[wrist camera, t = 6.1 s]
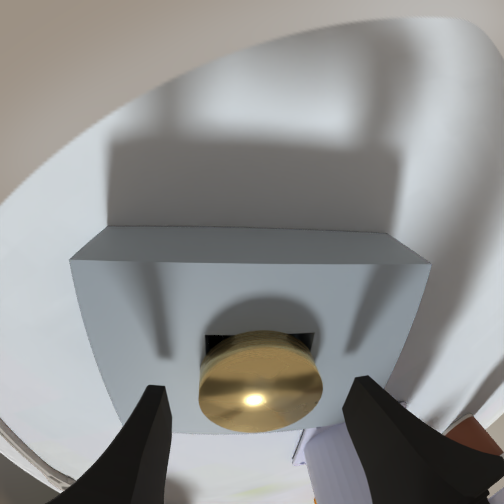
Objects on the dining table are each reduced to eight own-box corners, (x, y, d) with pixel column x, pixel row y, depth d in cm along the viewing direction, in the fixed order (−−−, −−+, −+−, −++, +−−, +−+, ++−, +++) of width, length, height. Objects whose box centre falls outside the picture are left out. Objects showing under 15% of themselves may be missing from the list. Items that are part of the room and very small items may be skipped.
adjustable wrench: (-35, 379, 16) (-41, 388, 15) (-8, 387, 17) (-14, 398, 15) (62, 483, 26) (60, 491, 24) (93, 491, 26) (91, 500, 24)
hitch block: (387, 233, 14) (431, 264, 10) (347, 374, 18) (368, 417, 14) (106, 226, 12) (69, 259, 9) (135, 378, 16) (123, 427, 12)
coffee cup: (436, 430, 25) (473, 494, 14) (485, 396, 25) (525, 451, 14) (424, 454, 29) (452, 509, 18) (469, 426, 28) (500, 474, 17)
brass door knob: (300, 283, 14) (337, 354, 9) (285, 354, 16) (306, 428, 11) (204, 278, 14) (197, 354, 9) (202, 352, 15) (199, 431, 10)
